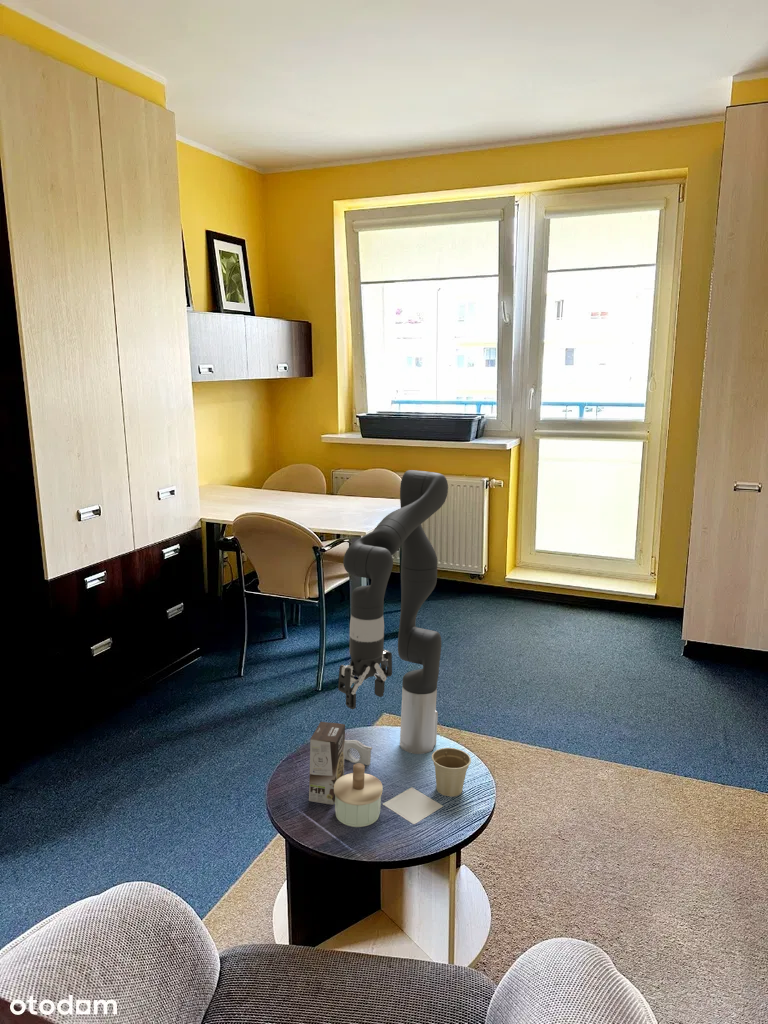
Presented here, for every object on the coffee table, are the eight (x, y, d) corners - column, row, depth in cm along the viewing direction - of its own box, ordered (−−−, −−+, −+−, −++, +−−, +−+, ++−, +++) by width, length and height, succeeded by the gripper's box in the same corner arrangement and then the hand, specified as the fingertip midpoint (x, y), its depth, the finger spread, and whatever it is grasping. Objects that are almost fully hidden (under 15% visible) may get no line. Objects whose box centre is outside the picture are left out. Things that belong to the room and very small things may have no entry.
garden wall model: (328, 755, 183) (328, 734, 181) (332, 752, 184) (332, 731, 183) (368, 768, 177) (369, 746, 176) (372, 764, 179) (372, 743, 178)
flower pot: (442, 774, 175) (444, 743, 174) (475, 788, 170) (477, 756, 168) (422, 791, 168) (424, 759, 166) (456, 806, 163) (458, 773, 161)
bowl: (358, 795, 165) (359, 772, 164) (388, 815, 159) (389, 791, 157) (326, 813, 158) (327, 789, 157) (356, 834, 152) (357, 809, 150)
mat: (411, 788, 169) (411, 787, 169) (443, 807, 162) (443, 805, 162) (382, 805, 162) (382, 804, 162) (413, 826, 155) (414, 824, 155)
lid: (392, 791, 157) (393, 767, 156) (356, 811, 150) (357, 786, 149) (359, 771, 165) (360, 748, 164) (323, 789, 157) (324, 765, 156)
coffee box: (334, 806, 161) (336, 742, 158) (308, 802, 162) (309, 738, 159) (344, 784, 170) (346, 723, 167) (319, 780, 171) (320, 720, 168)
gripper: (354, 647, 145) (353, 718, 148) (401, 630, 155) (399, 697, 158) (330, 637, 150) (330, 706, 154) (378, 621, 160) (376, 686, 163)
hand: (365, 701), depth 156 cm, fingers open, 8 cm apart
